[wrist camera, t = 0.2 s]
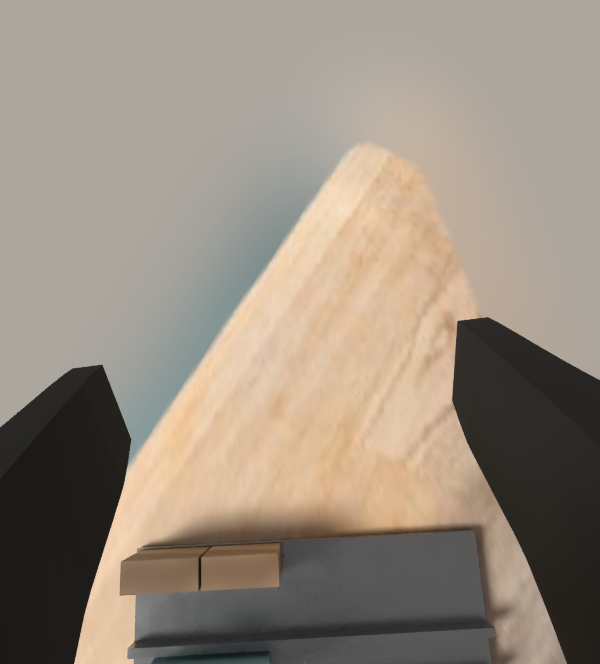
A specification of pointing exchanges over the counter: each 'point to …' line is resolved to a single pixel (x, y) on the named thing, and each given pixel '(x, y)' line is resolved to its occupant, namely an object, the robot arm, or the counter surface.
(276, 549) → the offcut
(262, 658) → the teal slab
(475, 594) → the rack
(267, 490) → the counter surface
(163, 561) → the offcut
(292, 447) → the counter surface
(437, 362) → the counter surface
